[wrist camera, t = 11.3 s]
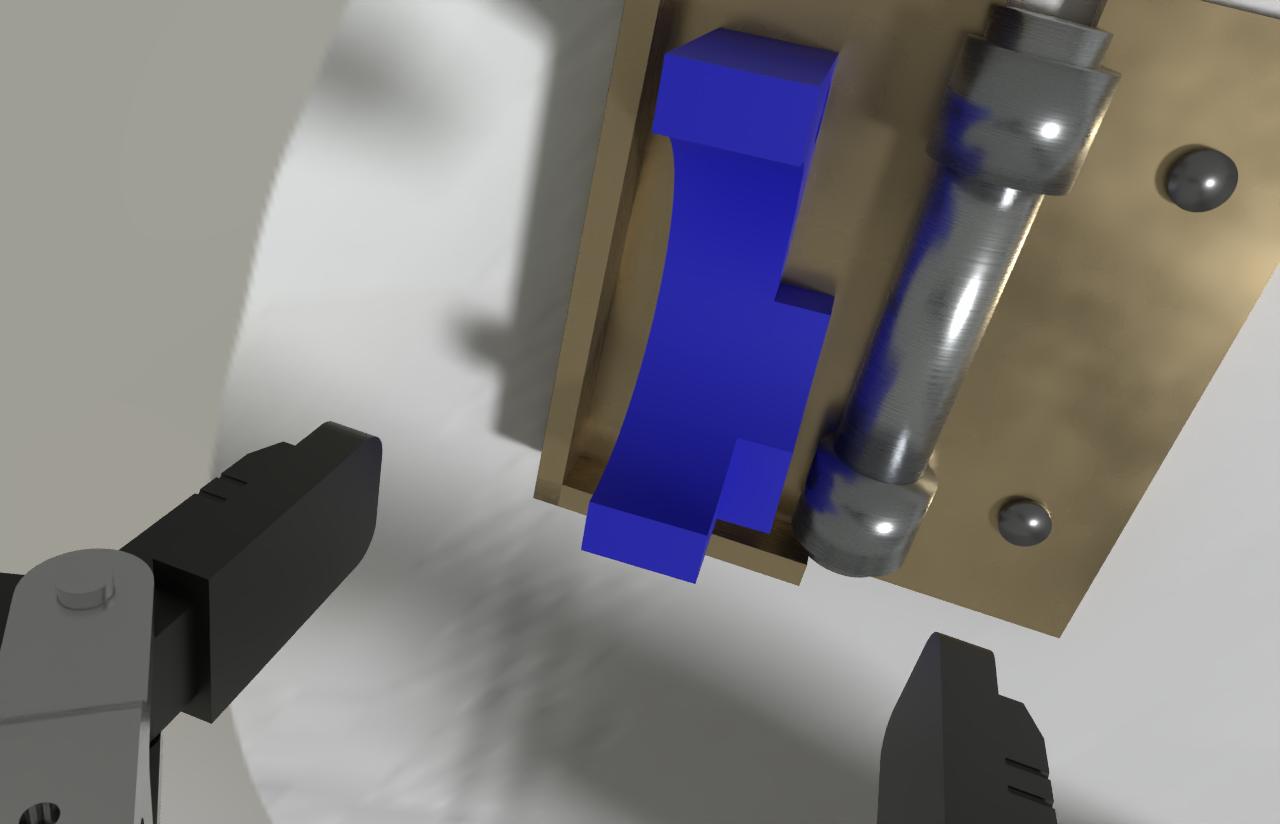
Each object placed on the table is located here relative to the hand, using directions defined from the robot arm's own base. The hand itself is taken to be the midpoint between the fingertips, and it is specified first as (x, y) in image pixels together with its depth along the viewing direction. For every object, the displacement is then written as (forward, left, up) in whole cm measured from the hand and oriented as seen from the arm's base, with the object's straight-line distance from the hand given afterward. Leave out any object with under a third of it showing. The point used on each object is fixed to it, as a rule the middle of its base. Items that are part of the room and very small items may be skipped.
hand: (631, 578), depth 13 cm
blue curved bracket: (0, 0, -15) cm, 15 cm away
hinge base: (-3, 0, -15) cm, 15 cm away
